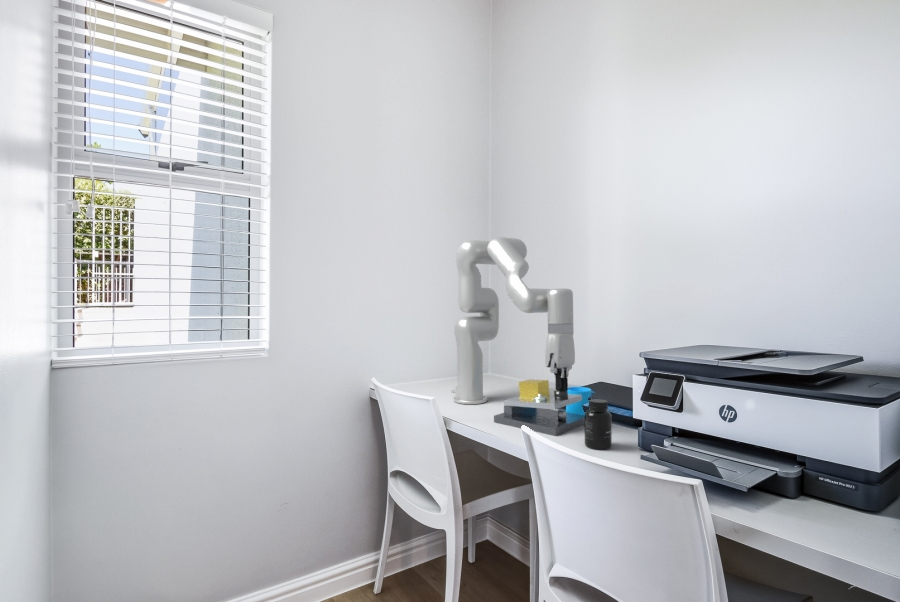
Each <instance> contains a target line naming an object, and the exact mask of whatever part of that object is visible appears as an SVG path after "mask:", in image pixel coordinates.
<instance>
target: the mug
mask: <svg viewBox="0 0 900 602" xmlns="http://www.w3.org/2000/svg"><path fill="white" fill-rule="evenodd" d="M592 393H596V392H595V391H593V390H592V389H591V388H590V387H583V386H570V387H568V394H572V395H582V401H579V402H576V403H573V404H570V405H567V406H565V410H566V412H568V413H573V414H579V415H584V416H585V412H584V410H583V407H582V405H584V404H586V403H588V402H589V400H588V398H589V397H590V396H591V397H592Z"/></svg>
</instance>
